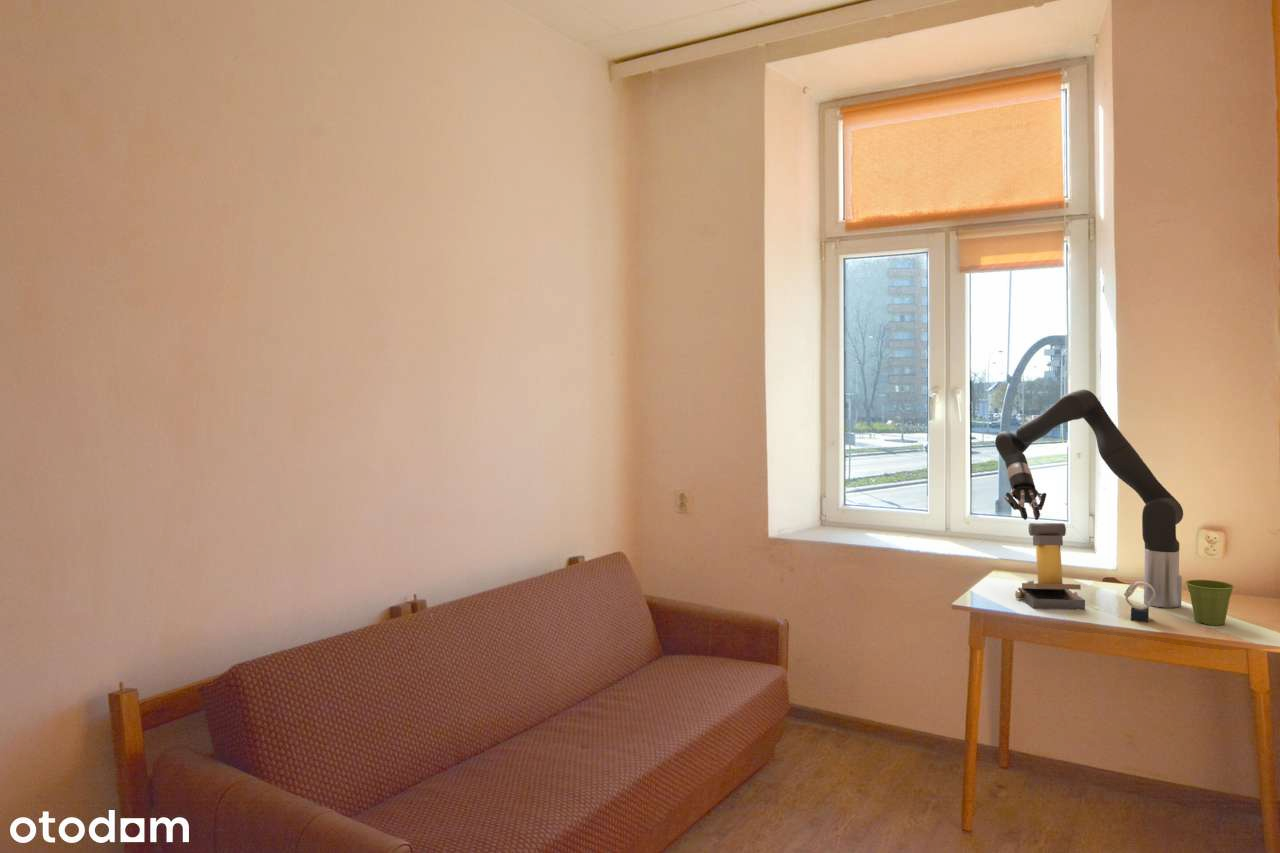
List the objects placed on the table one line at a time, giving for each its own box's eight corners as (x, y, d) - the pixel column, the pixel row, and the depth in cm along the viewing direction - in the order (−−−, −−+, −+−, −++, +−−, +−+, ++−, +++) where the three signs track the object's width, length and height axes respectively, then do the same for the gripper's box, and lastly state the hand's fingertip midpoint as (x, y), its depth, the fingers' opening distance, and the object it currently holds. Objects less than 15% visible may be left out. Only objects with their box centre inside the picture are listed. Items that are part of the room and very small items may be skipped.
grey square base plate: (1070, 596, 277) (1070, 587, 277) (1090, 609, 261) (1090, 600, 260) (1011, 595, 279) (1011, 586, 279) (1028, 608, 263) (1028, 598, 263)
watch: (1123, 615, 254) (1124, 578, 254) (1155, 618, 250) (1156, 581, 250) (1123, 619, 250) (1123, 582, 249) (1155, 623, 245) (1155, 585, 245)
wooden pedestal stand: (1064, 588, 275) (1060, 524, 278) (1080, 589, 261) (1076, 522, 265) (1022, 587, 277) (1018, 524, 280) (1036, 588, 263) (1032, 521, 266)
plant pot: (1214, 616, 252) (1215, 578, 251) (1244, 627, 240) (1245, 588, 239) (1175, 617, 251) (1176, 579, 251) (1203, 628, 240) (1204, 589, 239)
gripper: (1001, 471, 296) (1012, 511, 285) (1044, 471, 295) (1056, 511, 283) (997, 485, 302) (1007, 524, 290) (1038, 485, 300) (1050, 525, 289)
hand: (1031, 518), depth 287 cm, fingers open, 3 cm apart
